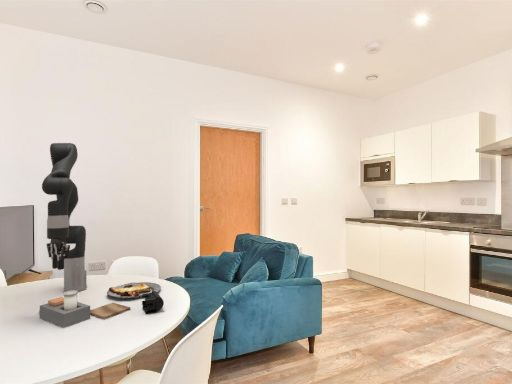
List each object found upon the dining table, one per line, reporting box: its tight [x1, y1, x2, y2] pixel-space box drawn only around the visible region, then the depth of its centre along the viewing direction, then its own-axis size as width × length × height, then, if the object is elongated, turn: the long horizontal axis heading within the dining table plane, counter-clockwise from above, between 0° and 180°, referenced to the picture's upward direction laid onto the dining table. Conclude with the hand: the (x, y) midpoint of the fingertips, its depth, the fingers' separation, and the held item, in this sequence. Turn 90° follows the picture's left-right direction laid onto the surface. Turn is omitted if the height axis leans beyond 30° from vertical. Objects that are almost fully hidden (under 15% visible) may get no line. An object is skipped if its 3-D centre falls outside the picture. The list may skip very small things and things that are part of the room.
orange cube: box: [47, 296, 64, 306], centre depth 126 cm, size 5×5×5 cm
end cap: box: [141, 290, 164, 315], centre depth 132 cm, size 10×7×7 cm
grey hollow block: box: [39, 301, 91, 329], centre depth 124 cm, size 10×18×5 cm, turn 59°
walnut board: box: [90, 302, 131, 320], centre depth 130 cm, size 12×12×1 cm
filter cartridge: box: [62, 290, 78, 311], centre depth 122 cm, size 5×5×11 cm
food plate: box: [106, 281, 162, 299], centre depth 155 cm, size 25×23×4 cm
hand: (58, 268), depth 126 cm, fingers open, 3 cm apart
